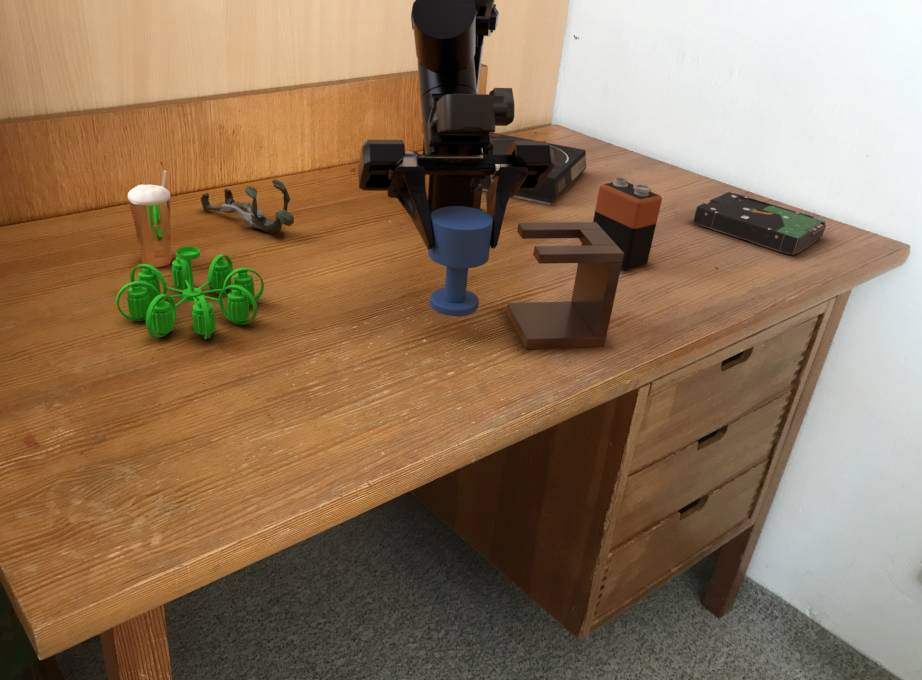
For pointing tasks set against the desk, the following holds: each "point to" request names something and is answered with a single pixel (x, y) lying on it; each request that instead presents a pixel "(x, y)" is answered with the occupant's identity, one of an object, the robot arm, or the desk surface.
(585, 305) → the brown slotted stand
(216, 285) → the chandelier
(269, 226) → the zombie figurine
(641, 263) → the battery
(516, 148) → the robot arm
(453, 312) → the peg
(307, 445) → the desk surface
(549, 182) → the portable cd player
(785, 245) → the disk drive
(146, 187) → the milkshake
